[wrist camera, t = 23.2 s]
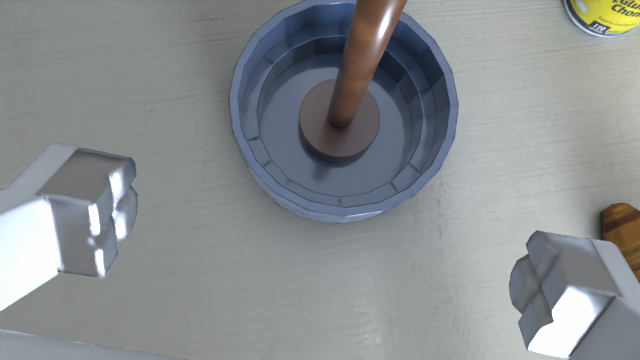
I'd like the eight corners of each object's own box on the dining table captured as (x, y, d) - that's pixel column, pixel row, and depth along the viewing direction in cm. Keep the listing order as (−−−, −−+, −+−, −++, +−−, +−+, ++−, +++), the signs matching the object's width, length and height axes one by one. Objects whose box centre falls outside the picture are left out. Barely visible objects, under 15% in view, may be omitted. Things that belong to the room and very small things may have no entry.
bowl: (221, 204, 36) (207, 193, 30) (259, 20, 38) (253, -24, 32) (417, 239, 36) (442, 234, 30) (442, 55, 38) (470, 17, 33)
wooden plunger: (292, 155, 36) (297, 10, 15) (305, 81, 37) (327, -147, 16) (369, 169, 36) (476, 44, 16) (380, 95, 37) (495, -113, 16)
